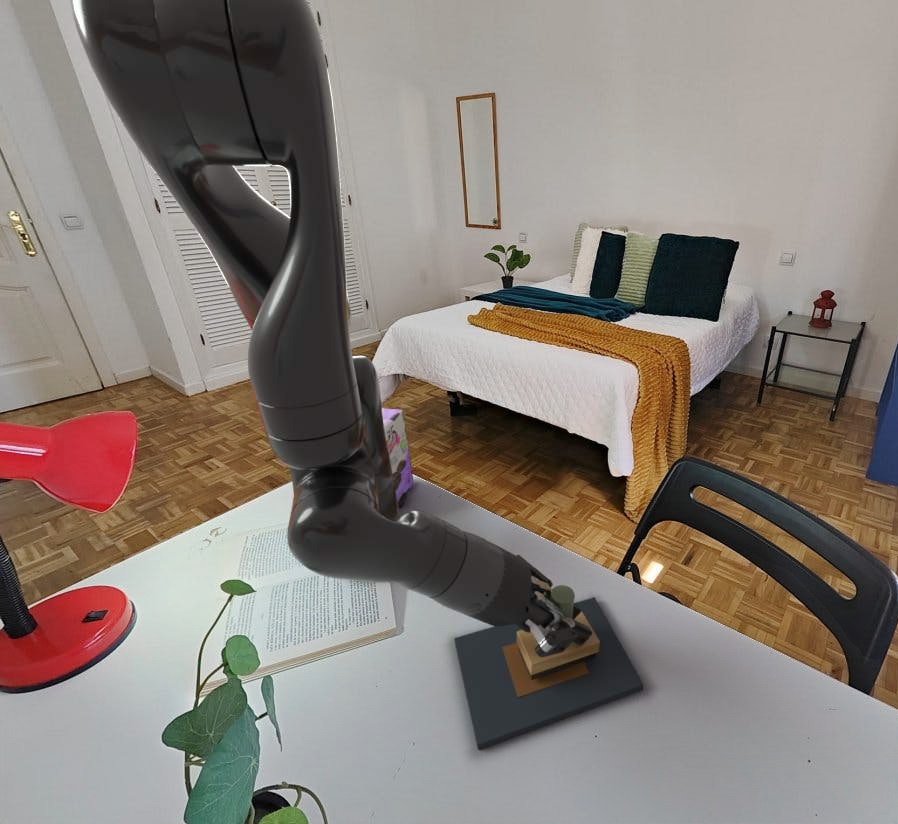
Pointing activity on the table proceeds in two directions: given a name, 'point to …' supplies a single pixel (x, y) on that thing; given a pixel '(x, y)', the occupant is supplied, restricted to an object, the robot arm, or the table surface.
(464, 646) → the desk mat
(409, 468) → the candy box
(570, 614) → the brush
